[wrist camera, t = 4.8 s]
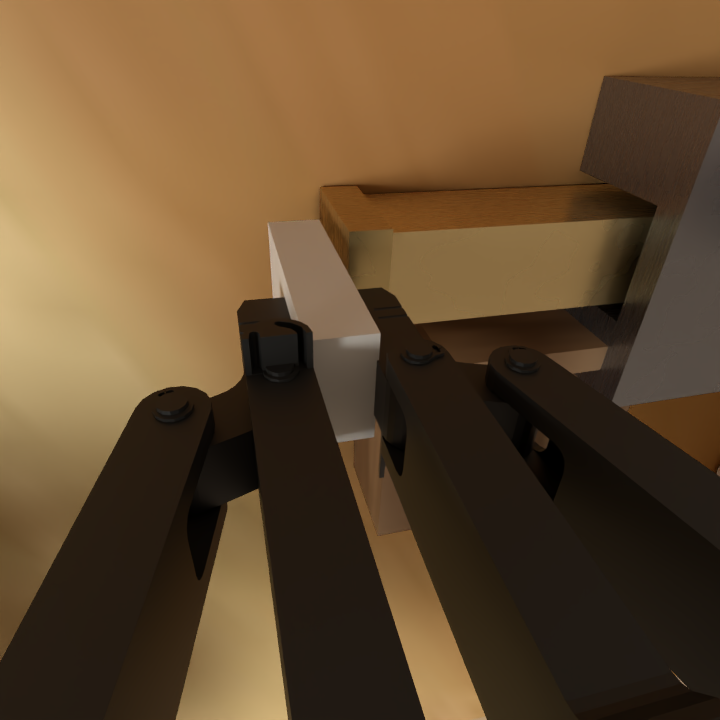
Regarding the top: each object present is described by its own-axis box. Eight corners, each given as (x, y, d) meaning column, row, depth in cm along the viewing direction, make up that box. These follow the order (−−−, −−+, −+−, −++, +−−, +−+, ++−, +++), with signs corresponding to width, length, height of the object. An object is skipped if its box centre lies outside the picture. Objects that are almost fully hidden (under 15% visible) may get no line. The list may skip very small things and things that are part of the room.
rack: (353, 465, 25) (377, 535, 21) (359, 313, 20) (390, 373, 17) (546, 434, 27) (593, 493, 24) (589, 291, 22) (655, 340, 19)
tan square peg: (320, 288, 19) (346, 348, 16) (320, 187, 17) (349, 231, 14) (588, 266, 22) (657, 314, 18) (615, 175, 19) (699, 210, 16)
